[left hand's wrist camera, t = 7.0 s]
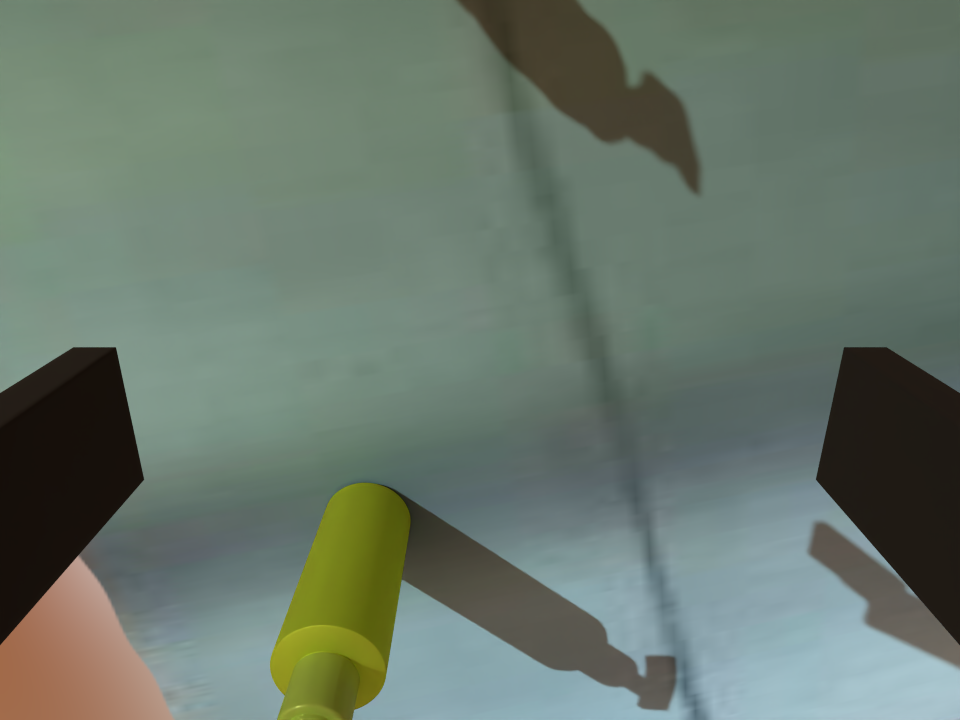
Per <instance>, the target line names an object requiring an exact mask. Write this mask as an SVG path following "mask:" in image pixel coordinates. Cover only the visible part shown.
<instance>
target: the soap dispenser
mask: <svg viewBox="0 0 960 720" xmlns="http://www.w3.org/2000/svg"><path fill="white" fill-rule="evenodd" d="M410 523H411V520H410V513H409V510H408V508H407V506H406V504H405V502H404V501H403V500H402V498H401V497H400V496H399V495H397V494H396V493H395V492H394V491H392V490H390V489H389V488H387V487H384V486H382V485H378V484H374V483H357V484H352V485H349V486H347V487H345V488H343V489H341V490H339V491H338V492H337V493H336V494H335V495H334V496H333V497H332V498H331V499H330V501H329V503H328V505H327V507H326V510H325V512H324V515H323V518H322V521H321V523H320V526H319V529H318V531H317V534H316V537H315V539H314V542H313V545H312V547H311V550H310V553H309V556H308V558H307V561H306V564H305V566H304V569H303V572H302V574H301V577H300V580H299V583H298V585H297V588H296V591H295V593H294V596H293V599H292V601H291V604H290V607H289V609H288V612H287V615H286V618H285V620H284V623H283V626H282V628H281V631H280V634H279V636H278V639H277V642H276V645H275V647H274V650H273V653H272V656H271V660H270V670H271V675H272V678H273V680H274V682H275V684H276V686H277V687H278V689H279V690H280V691H281V692H282V693H283V694H284V695H285V697H284V700H283V703H282V706H281V709H280V712H279V715H278V718H277V720H352V718H353V713H354V710H355V709H358V708H360V707H362V706H364V705H366V704H368V703H369V702H370V701H372V700H373V699H374V698H375V697H376V696H377V695H378V694H379V692H380V691H381V689H382V687H383V685H384V682H385V679H386V673H387V667H388V661H389V654H390V648H391V642H392V636H393V630H394V623H395V617H396V611H397V605H398V599H399V592H400V586H401V580H402V574H403V568H404V561H405V555H406V549H407V543H408V537H409V530H410Z"/></svg>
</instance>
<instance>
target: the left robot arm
mask: <svg viewBox="0 0 960 720" xmlns="http://www.w3.org/2000/svg"><path fill="white" fill-rule="evenodd" d="M143 480H144V477H143V472H142V468H141V463H140V458H139V454H138V449H137V444H136V440H135V435H134V430H133V425H132V421H131V416H130V411H129V407H128V402H127V397H126V393H125V388H124V383H123V379H122V374H121V369H120V364H119V360H118V355H117V350H116V347H73V348H72V349H70V350H69V351H67V352H65V353H64V354H62V355H61V356H59V357H57V358H56V359H54V360H53V361H51V362H49V363H48V364H46V365H45V366H43V367H41V368H40V369H38V370H37V371H35V372H33V373H32V374H30V375H29V376H27V377H25V378H24V379H22V380H21V381H19V382H17V383H16V384H14V385H13V386H11V387H9V388H8V389H6V390H5V391H3V392H1V393H0V645H1V643H2V642H3V641H4V640H5V639H6V638H7V637H8V635H9V634H10V633H11V632H12V631H13V630H14V629H15V627H16V626H17V625H18V624H19V623H20V622H21V621H22V619H23V618H24V617H25V616H26V615H27V614H28V612H29V611H30V610H31V609H32V608H33V607H34V606H35V604H36V603H37V602H38V601H39V600H40V599H41V598H42V596H43V595H44V594H45V593H46V592H47V591H48V590H49V588H50V587H51V586H52V585H53V584H54V583H55V581H56V580H57V579H58V578H59V577H60V576H61V575H62V573H63V572H64V571H65V570H66V569H67V568H68V567H69V565H70V564H71V563H72V562H73V561H74V560H75V558H76V557H77V556H78V555H79V554H80V553H81V552H82V550H83V549H84V548H85V547H86V546H87V545H88V544H89V542H90V541H91V540H92V539H93V538H94V537H95V535H96V534H97V533H98V532H99V531H100V530H101V529H102V527H103V526H104V525H105V524H106V523H107V522H108V521H109V519H110V518H111V517H112V516H113V515H114V514H115V512H116V511H117V510H118V509H119V508H120V507H121V506H122V504H123V503H124V502H125V501H126V500H127V499H128V498H129V496H130V495H131V494H132V493H133V492H134V491H135V489H136V488H137V487H138V486H139V485H140V484H141V483H142V481H143ZM816 480H817V481H818V483H819V484H820V485H821V486H822V487H823V488H824V489H825V491H826V492H827V493H828V494H829V495H830V496H831V498H832V499H833V500H834V501H835V502H836V503H837V504H838V506H839V507H840V508H841V509H842V510H843V511H844V512H845V514H846V515H847V516H848V517H849V518H850V519H851V521H852V522H853V523H854V524H855V525H856V526H857V527H858V529H859V530H860V531H861V532H862V533H863V534H864V535H865V537H866V538H867V539H868V540H869V541H870V542H871V544H872V545H873V546H874V547H875V548H876V549H877V550H878V552H879V553H880V554H881V555H882V556H883V557H884V558H885V560H886V561H887V562H888V563H889V564H890V565H891V567H892V568H893V569H894V570H895V571H896V572H897V573H898V575H899V576H900V577H901V578H902V579H903V580H904V581H905V583H906V584H907V585H908V586H909V587H910V588H911V590H912V591H913V592H914V593H915V594H916V595H917V596H918V598H919V599H920V600H921V601H922V602H923V603H924V604H925V606H926V607H927V608H928V609H929V610H930V611H931V613H932V614H933V615H934V616H935V617H936V618H937V619H938V621H939V622H940V623H941V624H942V625H943V626H944V627H945V629H946V630H947V631H948V632H949V633H950V634H951V636H952V637H953V638H954V639H955V640H956V641H957V642H958V644H959V645H960V393H959V392H957V391H955V390H954V389H952V388H951V387H949V386H947V385H946V384H944V383H943V382H941V381H939V380H938V379H936V378H935V377H933V376H931V375H930V374H928V373H927V372H925V371H923V370H922V369H920V368H919V367H917V366H915V365H914V364H912V363H911V362H909V361H907V360H906V359H904V358H903V357H901V356H899V355H898V354H896V353H895V352H893V351H891V350H890V349H888V348H887V347H844V350H843V355H842V360H841V364H840V369H839V374H838V379H837V383H836V388H835V393H834V397H833V402H832V407H831V411H830V416H829V421H828V425H827V430H826V435H825V440H824V444H823V449H822V454H821V458H820V463H819V468H818V472H817V477H816Z"/></svg>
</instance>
